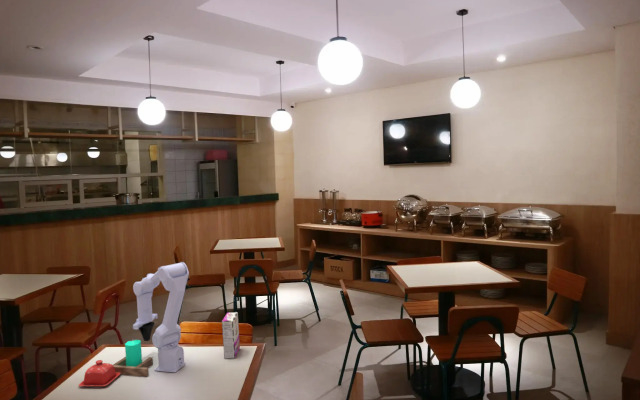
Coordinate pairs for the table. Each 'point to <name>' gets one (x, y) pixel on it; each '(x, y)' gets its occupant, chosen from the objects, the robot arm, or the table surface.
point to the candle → (133, 353)
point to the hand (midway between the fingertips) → (146, 340)
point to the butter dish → (99, 374)
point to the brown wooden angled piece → (133, 368)
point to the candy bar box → (230, 335)
